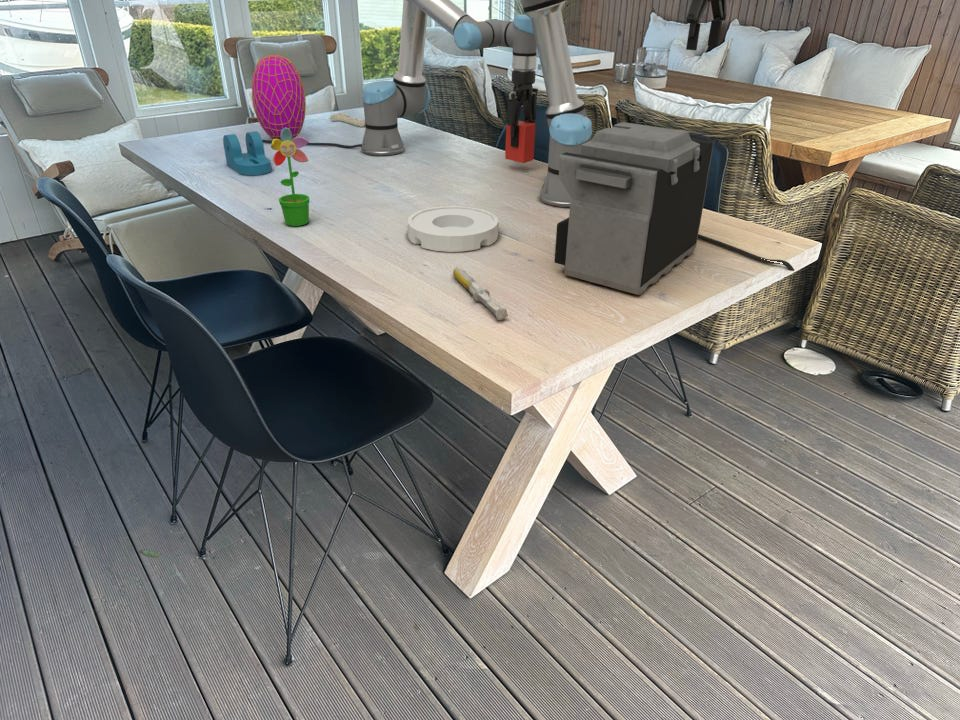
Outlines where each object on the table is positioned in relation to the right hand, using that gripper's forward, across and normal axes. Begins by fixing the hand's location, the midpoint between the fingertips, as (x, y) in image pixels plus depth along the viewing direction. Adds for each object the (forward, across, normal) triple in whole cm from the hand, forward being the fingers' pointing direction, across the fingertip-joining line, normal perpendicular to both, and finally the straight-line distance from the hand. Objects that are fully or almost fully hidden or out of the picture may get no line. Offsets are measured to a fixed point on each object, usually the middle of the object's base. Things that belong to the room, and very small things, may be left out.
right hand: (702, 48), depth 191 cm
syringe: (+41, +99, +3) cm, 107 cm away
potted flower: (+41, +96, -63) cm, 122 cm away
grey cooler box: (+41, +62, +17) cm, 76 cm away
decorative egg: (+41, +41, -145) cm, 156 cm away
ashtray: (+41, +75, -26) cm, 89 cm away
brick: (+37, +13, -52) cm, 65 cm away
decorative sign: (+41, +2, -154) cm, 159 cm away
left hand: (+32, +13, -52) cm, 63 cm away
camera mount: (+41, +73, -119) cm, 145 cm away
